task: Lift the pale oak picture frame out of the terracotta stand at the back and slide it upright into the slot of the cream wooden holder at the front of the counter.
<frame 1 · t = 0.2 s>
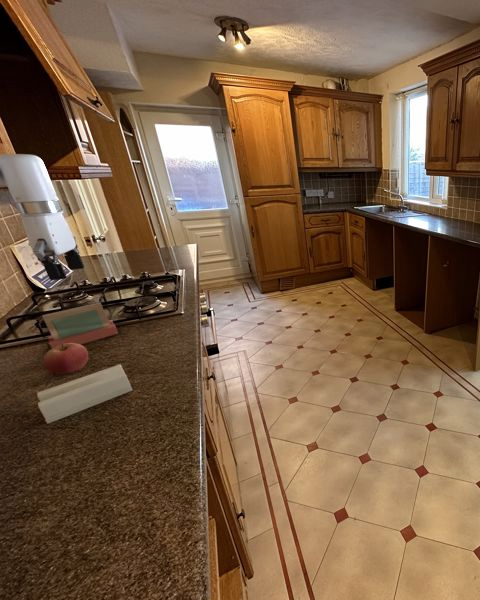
hand: (68, 273, 87), 21 cm above the worktop, tool pointing down, fingers open, 9 cm apart
holder: (90, 398, 72), on the worktop
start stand: (87, 343, 95), on the worktop
frame: (86, 340, 95), point 1 cm above the worktop, touching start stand
apple: (73, 371, 82), on the worktop
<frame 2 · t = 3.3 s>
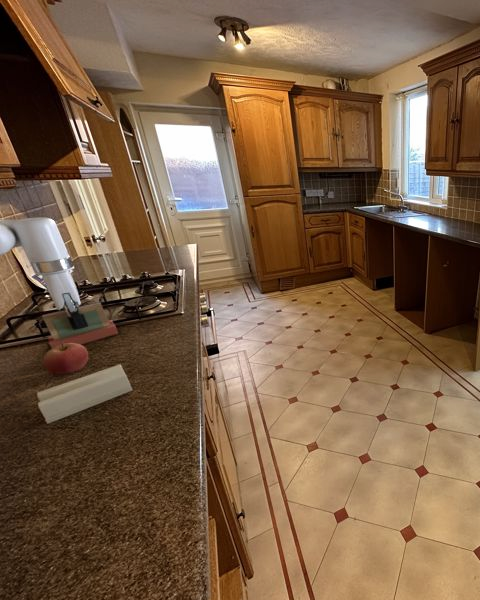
hand: (80, 326, 93), 6 cm above the worktop, tool pointing down, fingers closed on frame, 1 cm apart
frame: (86, 339, 95), point 1 cm above the worktop, touching gripper, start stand
everything else where it was.
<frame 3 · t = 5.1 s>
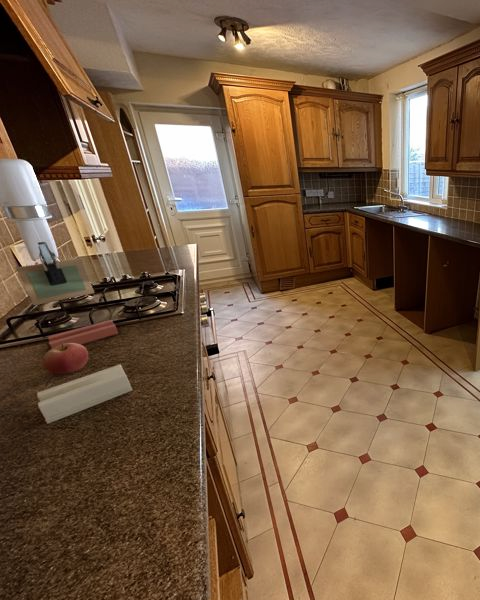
hand: (58, 282, 86), 19 cm above the worktop, tool pointing down, fingers closed on frame
frame: (65, 298, 88), point 15 cm above the worktop, touching gripper
everything else where it was.
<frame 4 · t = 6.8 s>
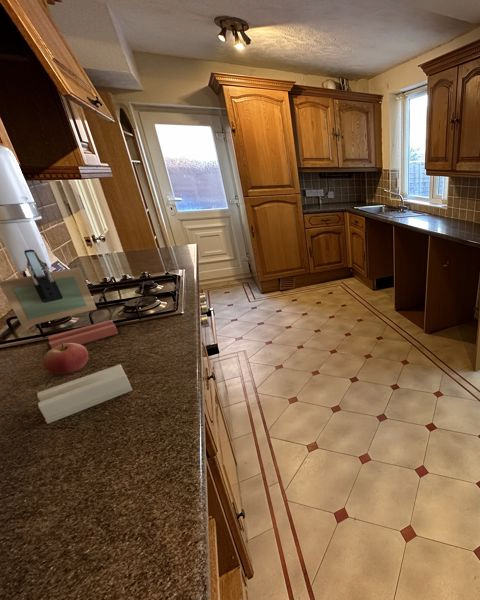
hand: (52, 298, 71), 21 cm above the worktop, tool pointing down, fingers closed on frame
frame: (61, 316, 72), point 17 cm above the worktop, touching gripper
everything else where it was.
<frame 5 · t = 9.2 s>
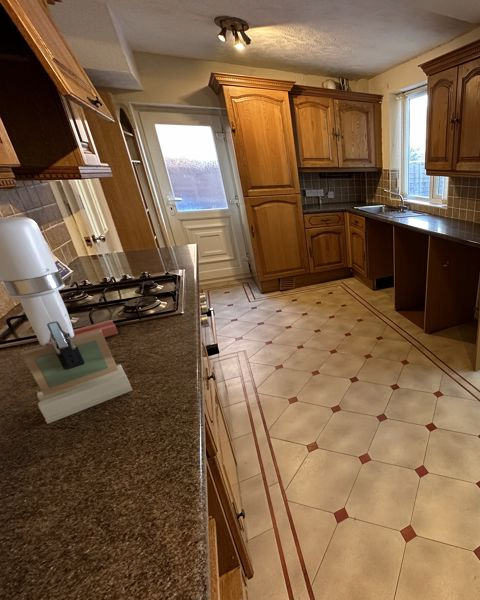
hand: (74, 364, 69), 9 cm above the worktop, tool pointing down, fingers closed on frame
frame: (83, 380, 71), point 5 cm above the worktop, touching gripper
everything else where it was.
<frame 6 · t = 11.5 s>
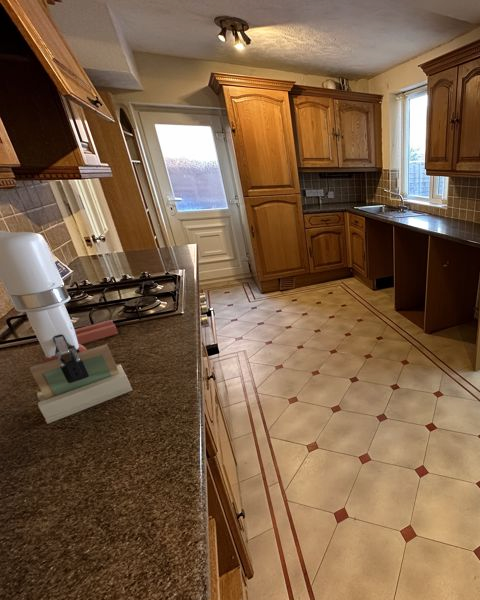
hand: (76, 370, 69), 7 cm above the worktop, tool pointing down, fingers open, 9 cm apart
frame: (89, 394, 72), point 1 cm above the worktop, touching holder
everything else where it was.
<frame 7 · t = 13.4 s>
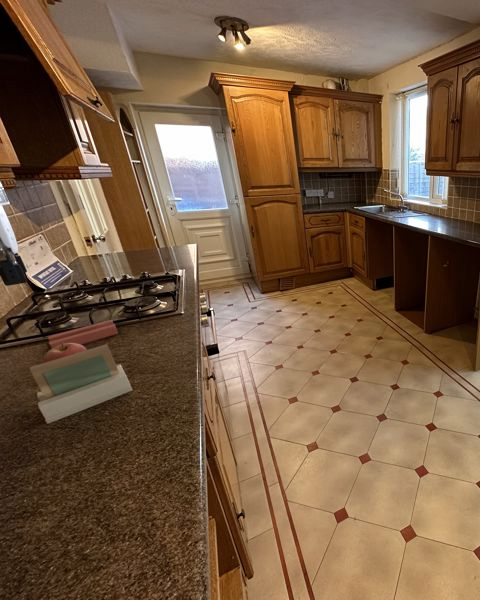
hand: (17, 278, 71), 25 cm above the worktop, tool pointing down, fingers open, 9 cm apart
nothing on the worktop moved.
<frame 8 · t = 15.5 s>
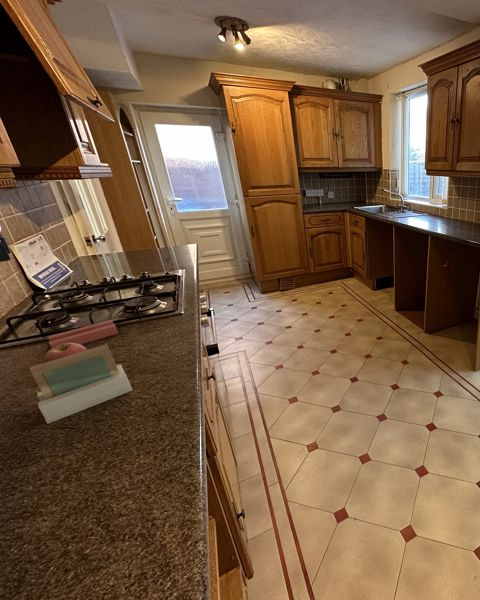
hand: (1, 257, 76), 28 cm above the worktop, tool pointing down, fingers open, 9 cm apart
nothing on the worktop moved.
at the end: frame 0.1 cm off-centre on the holder, point 1.0 cm above the holder's base; frame tilted 0°; the gripper is holding nothing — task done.
